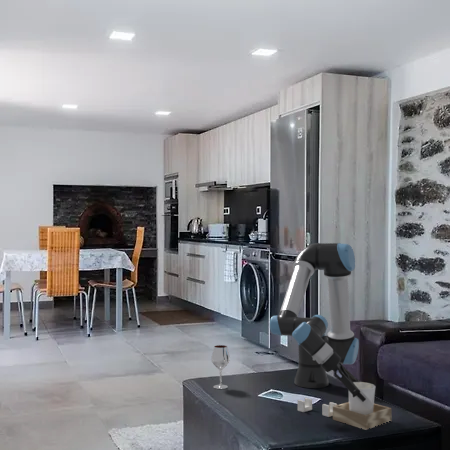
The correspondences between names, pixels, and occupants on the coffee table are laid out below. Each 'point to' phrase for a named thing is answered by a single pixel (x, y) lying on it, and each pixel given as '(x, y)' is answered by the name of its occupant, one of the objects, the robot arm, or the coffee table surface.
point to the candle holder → (355, 403)
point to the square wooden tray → (362, 416)
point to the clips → (307, 405)
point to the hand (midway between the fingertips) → (370, 402)
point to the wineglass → (220, 361)
